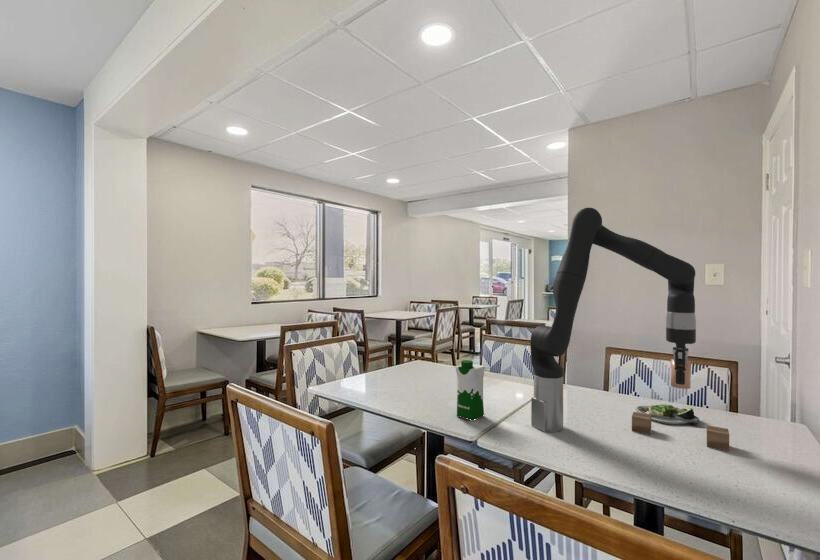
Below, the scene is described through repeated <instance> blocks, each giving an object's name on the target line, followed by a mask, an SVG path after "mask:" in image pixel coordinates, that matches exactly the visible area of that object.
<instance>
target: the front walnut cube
mask: <svg viewBox="0 0 820 560" xmlns="http://www.w3.org/2000/svg"><path fill="white" fill-rule="evenodd" d="M708 447H709V449H713V448H715V449H714V450H718V449H720V451H723V450H725V451H724V452H728V451H729V452H730V431H729V429H728V428H725V427H720V426H713V425H708V424H706V448H708Z"/></svg>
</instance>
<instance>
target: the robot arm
mask: <svg viewBox="0 0 820 560" xmlns="http://www.w3.org/2000/svg"><path fill="white" fill-rule="evenodd" d="M602 218H603V217H602V215H601V214H600V212H599V211H598V210H597V209H596V208H594V207H584V208H582V209H580V210H578V211H577V213H576V214H575V215H574V217H573V219H572V222H571V229H570V234H569V238H568V242H567V246H566V248H565V251H564V252H563V255H562V257H561V260H560V263H559V266H558V269H557V272H556V274H555V278H554V280H553V284H552V294H553V299H554V303H555V314H554V318H553V322H552V324H551V326H548V325H537V326H536V327H535V328H534V329H533V331H532V332H531V335H530V342H529V343H530V363H531V366H532V368H533V396H532V397H531V398H530V399H531V403H530V404H531V405H530V406H531V409H530V410H531V411H530V412H531V413H530V414H531V416H530V417H531V419H530V420H531V427H534V428H536V429H537V430H540V431H542V432H544V433H546V432H550V433H555V432H557V433H558V432H561V431H563V430H564V368H563V367H562V366H561V365H560V363H559V362H557V360H556V358H555V357H557V358H559V357H561V356H563V355H565V353H566V352H567V351H568V347H569V345H570V341H571V337H572V331H573V327H574V326H573V325H574V320H575V317H576V312H577V309H578V305H579V301H580V297H581V296H582V292H583V289H584V286H585V282H586V281H587V280H586V279H587V276H588V269H589V262H590V255H591V250H592V247H593V245H595V246H598V247H601V248H603V249H606V250H608V251H610V252H613V253H615V254H617V255H620V256H621V257H624V258H626V259H627V260H630V261H631V262H633V263H635V264H636V265H639V266H641V267H642V268H644V269H646V270H649V271H651V272H653V273H656V274H658V275H659V276H660V277H662V278H664V279H666V280H667V288H668V289H667V291H668V294H667V304H666V305H667V307H666V317H665V318H666V319H665V340H666V342H668V343H673V344H675V346H674V347H672V355H673V359H674V363H675V371H676V383H677V384H681V385H684V384H685V371H686V369H685V365H687V360H688V356H689V348H687V347H686V345H687V344H688V345H693V344H695V343H696V341H697V336H696V335H697V320H696V300H695V295H694V293H695V292H694V291H695V290H694V289H695V279H696V278H695V277H696V270H695V267H694V266H693V265H692V264H690V262H687V261H685V260H683V259H680V258H678V257H676V256H673V255H671V254H669V253H666V252H665V251H663V250H662V249H660V248H658V247H656V246H653V245H652V244H650V243H648V242H646V241H643V240H640V239H638V238H633V237H629V236H626V235H625V236H624V235H621V234H620V233H616V232H614V231H612V230H610V229H609V228H607V227H606V226H604V225H603V219H602ZM677 364H683V367H678V366H677Z"/></svg>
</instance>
